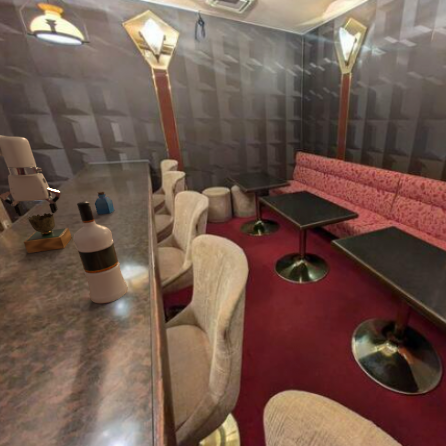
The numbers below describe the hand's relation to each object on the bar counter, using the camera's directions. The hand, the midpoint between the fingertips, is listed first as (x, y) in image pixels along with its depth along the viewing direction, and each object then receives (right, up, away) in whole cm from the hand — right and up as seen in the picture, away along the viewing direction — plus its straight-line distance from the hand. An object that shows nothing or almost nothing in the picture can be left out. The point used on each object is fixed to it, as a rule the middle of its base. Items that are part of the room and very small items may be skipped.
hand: (38, 213), depth 99 cm
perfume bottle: (-9, +2, +45) cm, 46 cm away
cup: (0, -9, +3) cm, 9 cm away
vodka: (+47, -26, -23) cm, 59 cm away
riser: (0, -13, +5) cm, 14 cm away
